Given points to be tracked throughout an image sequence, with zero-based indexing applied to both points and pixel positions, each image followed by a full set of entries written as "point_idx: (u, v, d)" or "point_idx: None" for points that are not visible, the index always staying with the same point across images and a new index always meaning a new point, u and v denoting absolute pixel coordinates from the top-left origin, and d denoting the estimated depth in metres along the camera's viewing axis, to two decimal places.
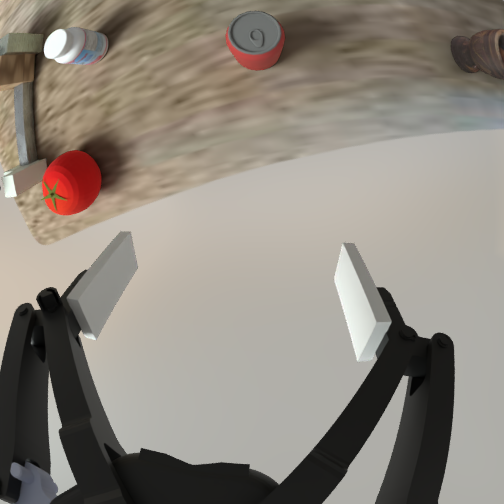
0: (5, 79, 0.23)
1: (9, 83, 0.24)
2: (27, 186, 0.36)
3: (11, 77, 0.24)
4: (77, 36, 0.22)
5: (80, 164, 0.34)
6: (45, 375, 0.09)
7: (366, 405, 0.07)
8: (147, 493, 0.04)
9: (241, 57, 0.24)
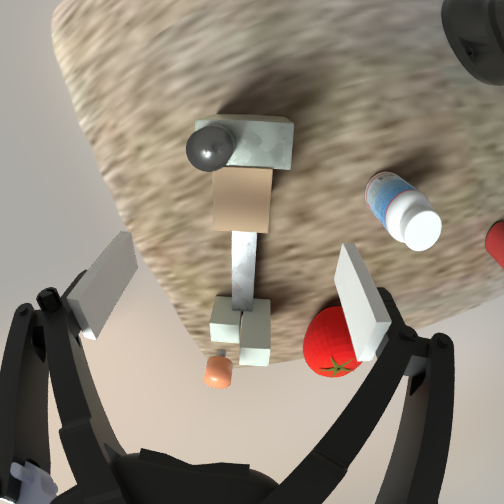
0: None
1: None
2: None
3: None
4: None
5: None
6: (45, 375, 0.09)
7: (365, 406, 0.07)
8: (147, 493, 0.04)
9: None
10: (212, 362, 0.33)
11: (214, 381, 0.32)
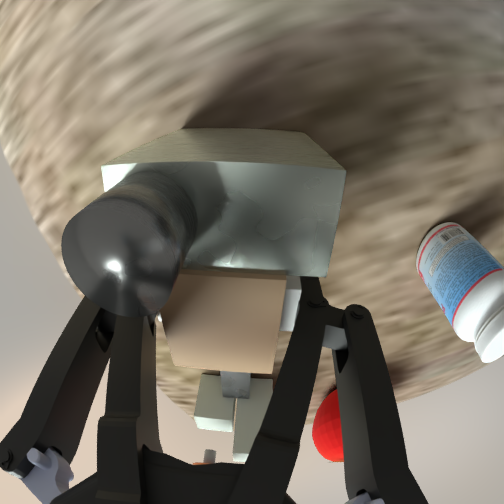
0: None
1: None
2: None
3: None
4: None
5: None
6: (102, 366, 0.10)
7: (294, 379, 0.08)
8: (147, 493, 0.04)
9: None
10: None
11: None
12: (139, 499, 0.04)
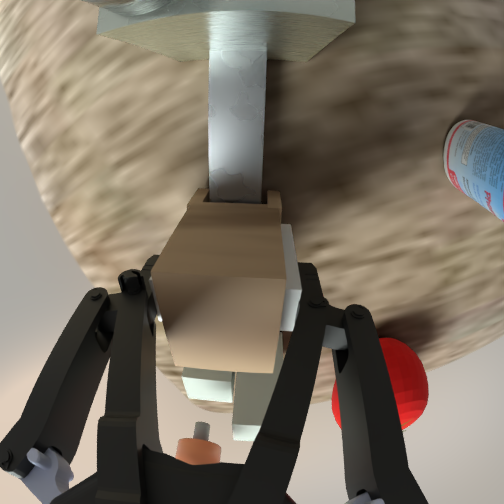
0: None
1: None
2: None
3: None
4: None
5: (426, 379, 0.20)
6: (102, 366, 0.10)
7: (294, 379, 0.08)
8: (147, 493, 0.04)
9: None
10: (185, 449, 0.16)
11: None
12: (139, 499, 0.04)
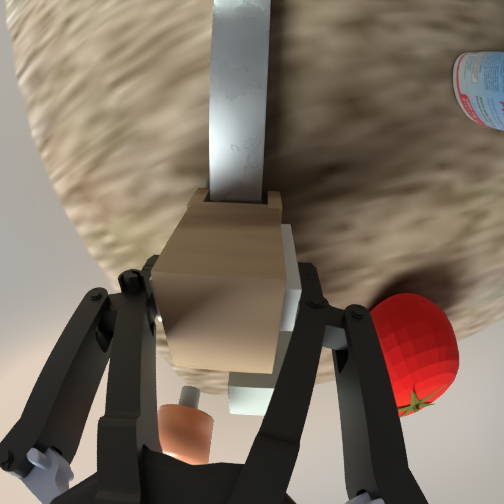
0: None
1: None
2: None
3: None
4: None
5: None
6: (102, 366, 0.10)
7: (294, 379, 0.08)
8: (147, 493, 0.04)
9: None
10: (165, 418, 0.12)
11: None
12: (139, 499, 0.04)
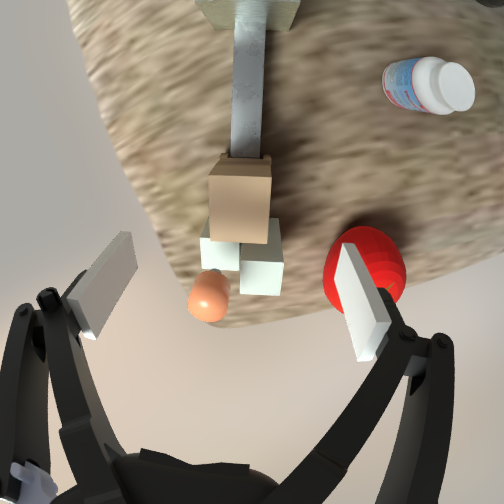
0: None
1: None
2: None
3: None
4: None
5: None
6: (45, 375, 0.09)
7: (366, 405, 0.07)
8: (147, 493, 0.04)
9: None
10: (200, 278, 0.24)
11: (203, 306, 0.23)
12: (121, 493, 0.04)
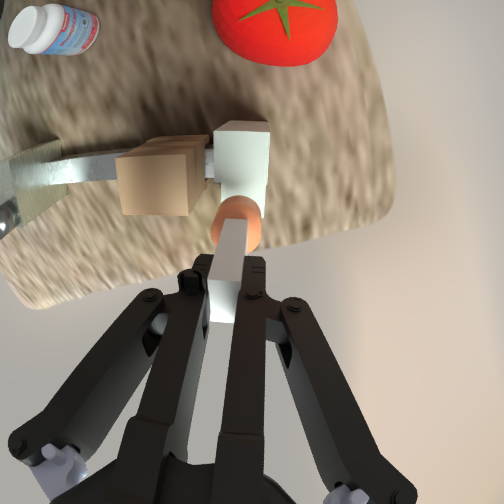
0: (178, 150, 0.20)
1: None
2: (262, 127, 0.21)
3: (181, 146, 0.21)
4: None
5: None
6: (144, 370, 0.10)
7: (244, 372, 0.08)
8: None
9: None
10: None
11: None
12: None
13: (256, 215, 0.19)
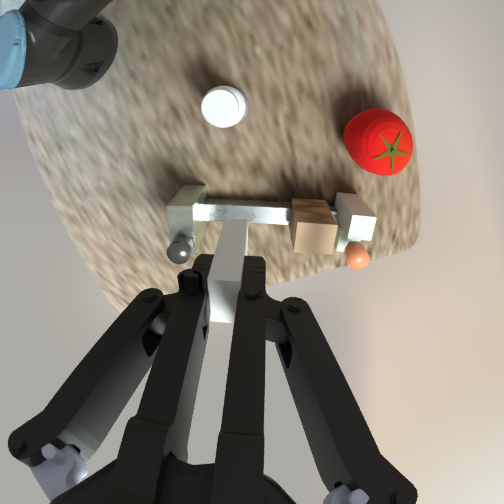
0: (328, 219, 0.40)
1: (332, 217, 0.41)
2: (366, 208, 0.41)
3: (325, 215, 0.41)
4: (218, 89, 0.31)
5: (364, 115, 0.33)
6: (144, 370, 0.10)
7: (244, 372, 0.08)
8: None
9: None
10: (346, 257, 0.42)
11: (358, 262, 0.40)
12: None
13: (366, 252, 0.40)
